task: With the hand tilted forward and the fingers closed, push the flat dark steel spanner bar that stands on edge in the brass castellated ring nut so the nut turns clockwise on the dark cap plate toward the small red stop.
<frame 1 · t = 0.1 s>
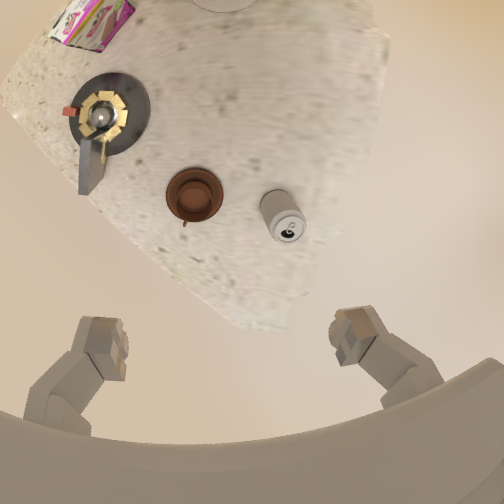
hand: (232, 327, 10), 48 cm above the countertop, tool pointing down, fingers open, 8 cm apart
cap plate: (109, 113, 43), on the countertop
cup and saucer: (194, 192, 57), on the countertop
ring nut: (94, 140, 39), point 7 cm above the countertop, hinge at -10.0°
can: (275, 203, 61), on the countertop
candy bar box: (111, 26, 32), on the countertop
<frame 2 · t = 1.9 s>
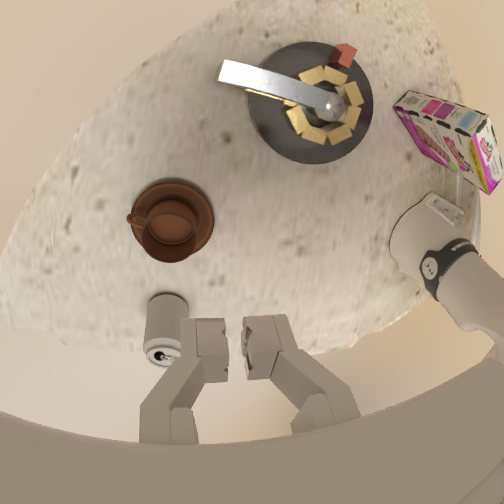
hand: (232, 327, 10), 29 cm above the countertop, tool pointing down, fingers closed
cap plate: (312, 102, 32), on the countertop
cup and saucer: (172, 216, 39), on the countertop
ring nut: (301, 95, 25), point 7 cm above the countertop, hinge at -10.0°
can: (168, 304, 48), on the countertop
candy bar box: (414, 123, 35), on the countertop
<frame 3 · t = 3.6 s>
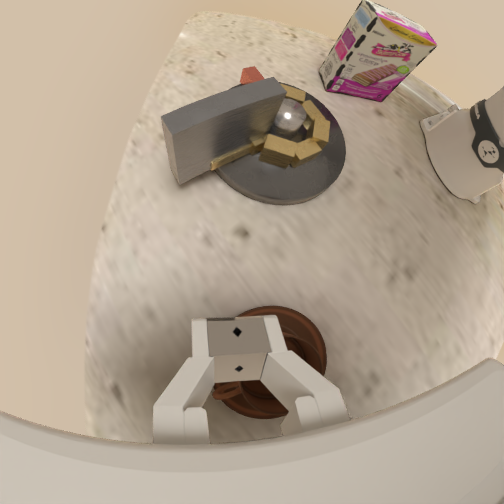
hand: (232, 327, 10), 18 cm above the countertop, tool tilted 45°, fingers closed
cap plate: (275, 139, 31), on the countertop
cup and saucer: (266, 361, 27), on the countertop
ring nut: (258, 117, 23), point 7 cm above the countertop, hinge at -10.0°
candy bar box: (351, 88, 36), on the countertop
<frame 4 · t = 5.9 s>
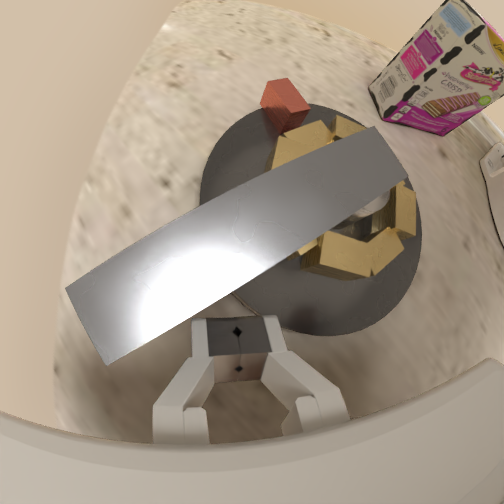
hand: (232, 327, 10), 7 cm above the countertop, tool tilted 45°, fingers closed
cap plate: (320, 212, 19), on the countertop
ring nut: (316, 206, 12), point 7 cm above the countertop, hinge at -10.1°, touching gripper
candy bar box: (408, 115, 24), on the countertop
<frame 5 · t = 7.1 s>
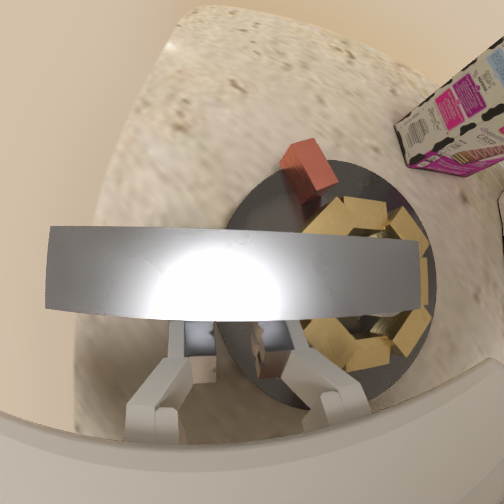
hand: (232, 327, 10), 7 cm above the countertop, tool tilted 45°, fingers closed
cap plate: (336, 285, 18), on the countertop
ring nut: (326, 282, 11), point 7 cm above the countertop, hinge at -41.2°, touching gripper
candy bar box: (433, 155, 23), on the countertop
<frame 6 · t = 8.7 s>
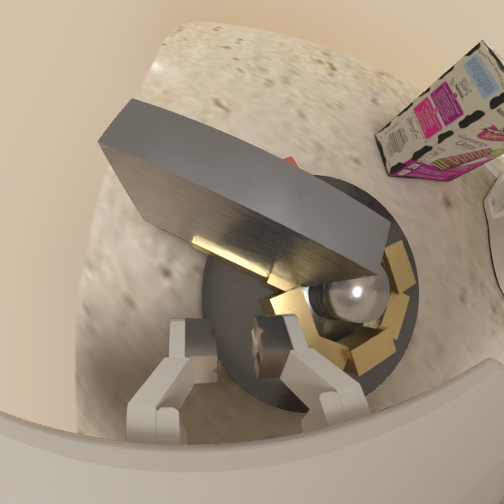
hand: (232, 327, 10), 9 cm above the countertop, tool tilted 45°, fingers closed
cap plate: (320, 294, 20), on the countertop
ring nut: (308, 256, 13), point 7 cm above the countertop, hinge at -66.7°
candy bar box: (415, 162, 25), on the countertop
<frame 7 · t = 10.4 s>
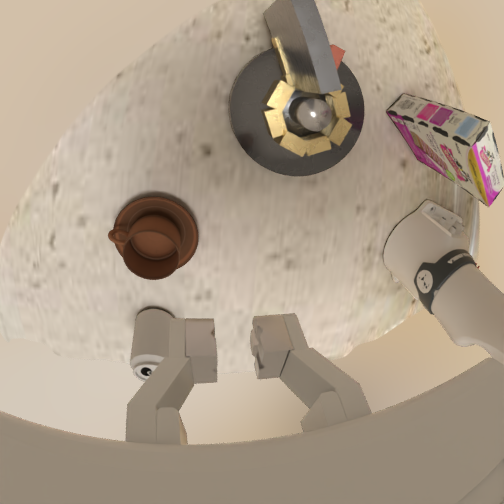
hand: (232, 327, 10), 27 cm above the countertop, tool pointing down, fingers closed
cap plate: (297, 109, 30), on the countertop
cup and saucer: (156, 230, 37), on the countertop
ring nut: (309, 79, 22), point 7 cm above the countertop, hinge at -66.7°
can: (156, 318, 47), on the countertop
candy bar box: (410, 128, 33), on the countertop
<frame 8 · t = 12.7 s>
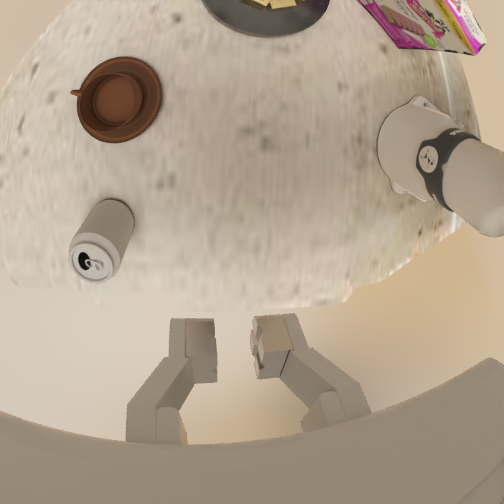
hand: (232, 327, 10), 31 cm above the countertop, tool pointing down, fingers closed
cup and saucer: (121, 98, 29), on the countertop
can: (113, 218, 39), on the countertop
candy bar box: (384, 18, 25), on the countertop
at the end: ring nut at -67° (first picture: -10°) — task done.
